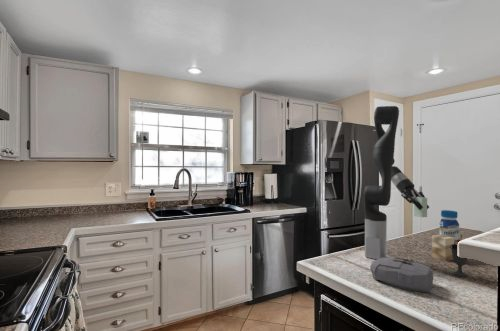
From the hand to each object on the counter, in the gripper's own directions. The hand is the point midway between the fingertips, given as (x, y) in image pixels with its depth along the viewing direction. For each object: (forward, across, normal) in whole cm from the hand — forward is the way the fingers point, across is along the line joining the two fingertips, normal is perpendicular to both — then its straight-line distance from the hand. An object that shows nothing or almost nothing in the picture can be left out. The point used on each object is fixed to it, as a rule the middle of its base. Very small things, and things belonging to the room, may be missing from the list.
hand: (424, 208), depth 131 cm
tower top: (+18, 0, +6) cm, 19 cm away
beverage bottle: (+17, +17, +14) cm, 28 cm away
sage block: (+2, 0, +4) cm, 5 cm away
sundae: (+32, -14, -1) cm, 36 cm away
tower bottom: (+22, 0, +9) cm, 24 cm away
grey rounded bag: (+30, -43, +2) cm, 52 cm away
